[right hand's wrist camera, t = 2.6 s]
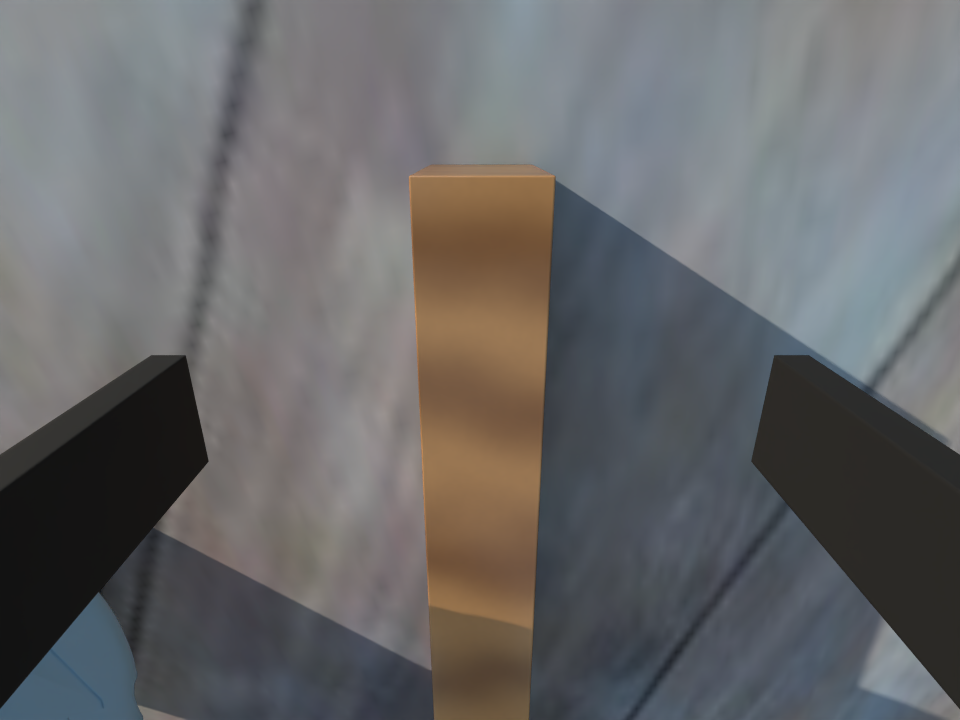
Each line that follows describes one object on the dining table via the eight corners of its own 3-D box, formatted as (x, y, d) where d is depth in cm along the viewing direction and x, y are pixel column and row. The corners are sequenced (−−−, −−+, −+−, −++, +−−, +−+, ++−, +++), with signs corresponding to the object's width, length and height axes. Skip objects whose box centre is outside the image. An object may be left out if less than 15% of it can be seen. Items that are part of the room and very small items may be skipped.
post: (429, 164, 24) (408, 175, 17) (533, 164, 24) (555, 175, 17) (452, 869, 44) (447, 1011, 36) (509, 869, 44) (514, 1011, 36)
